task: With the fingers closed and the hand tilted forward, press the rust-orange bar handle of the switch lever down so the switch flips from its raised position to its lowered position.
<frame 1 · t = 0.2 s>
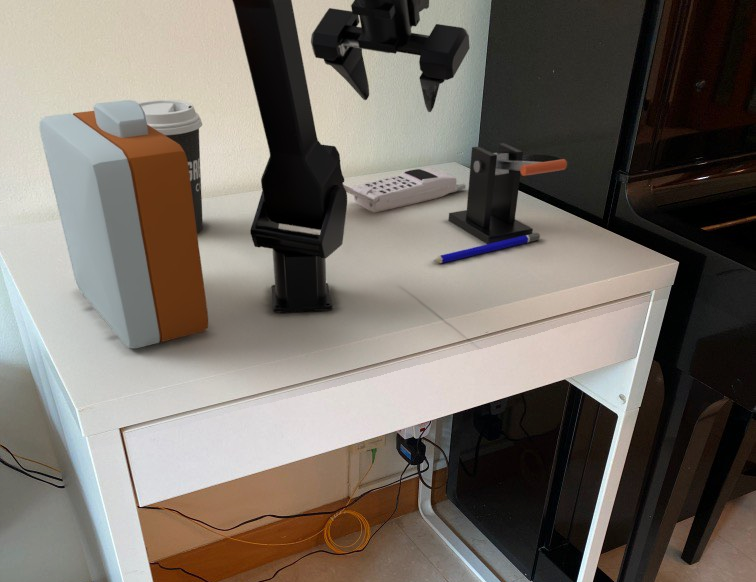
hand: (398, 103, 102), 14 cm above the table, tool tilted 30°, fingers open, 9 cm apart
switch lever: (516, 165, 98), point 9 cm above the table, hinge at 12.0°
mobile phone: (390, 204, 115), on the table
pencil: (487, 253, 100), on the table
switch bracket: (489, 229, 107), on the table
coffee cup: (178, 230, 105), on the table
alarm clock: (141, 313, 86), on the table
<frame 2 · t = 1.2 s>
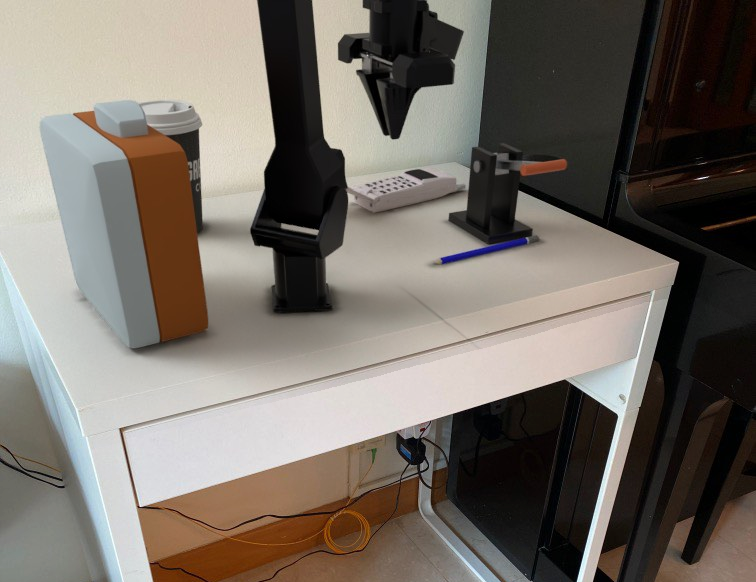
hand: (391, 137, 98), 12 cm above the table, tool pointing down, fingers closed
nothing on the table moved.
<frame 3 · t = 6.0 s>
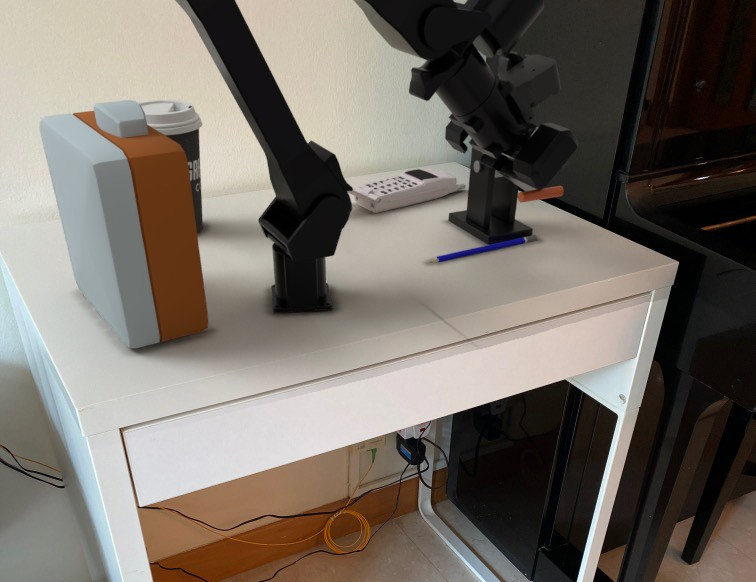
hand: (541, 186, 95), 8 cm above the table, tool tilted 45°, fingers closed
switch lever: (515, 177, 99), point 8 cm above the table, hinge at -5.7°, touching gripper
everything else where it was.
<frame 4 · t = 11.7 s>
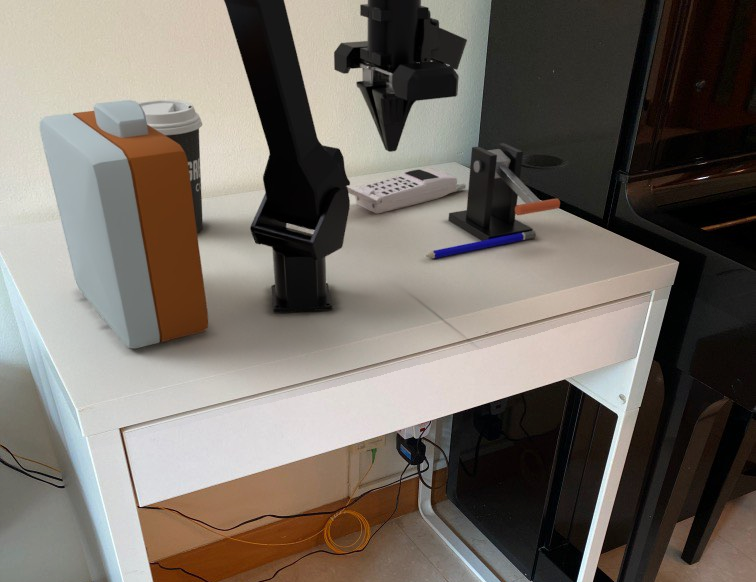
hand: (390, 150, 93), 12 cm above the table, tool pointing down, fingers closed
switch lever: (514, 183, 99), point 7 cm above the table, hinge at -15.0°
at the end: switch lever at -15° (first picture: +12°); switch lever reached -15° during the clip, -15° at the end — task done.
